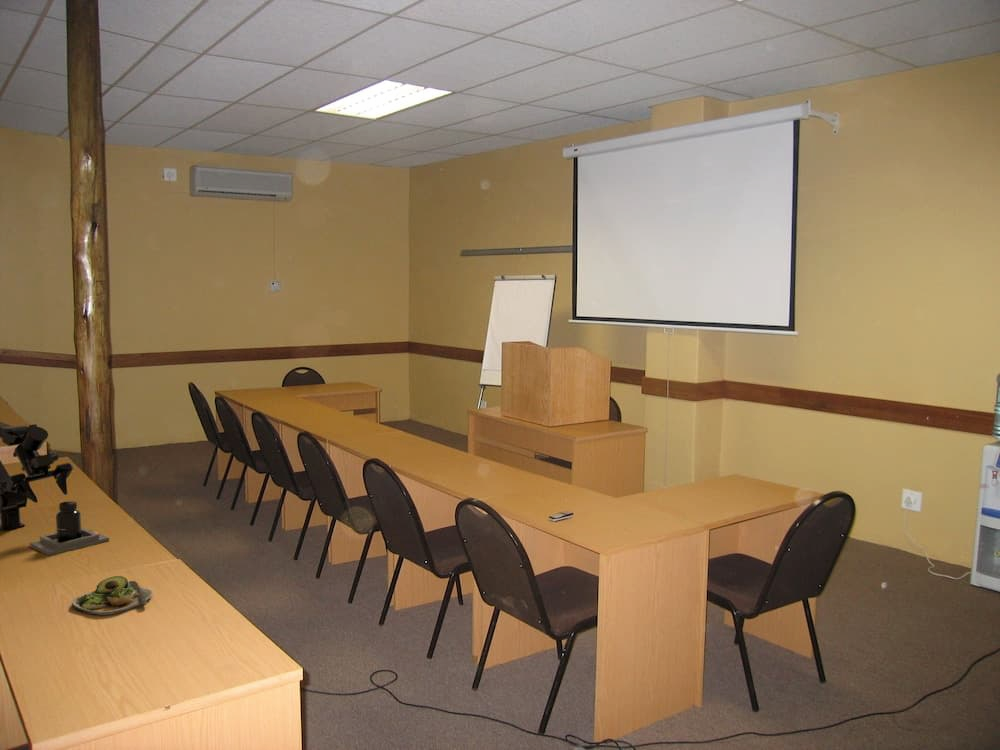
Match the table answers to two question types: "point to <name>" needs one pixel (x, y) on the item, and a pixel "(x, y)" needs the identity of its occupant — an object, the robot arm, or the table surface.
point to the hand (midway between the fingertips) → (51, 498)
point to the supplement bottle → (68, 522)
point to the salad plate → (113, 596)
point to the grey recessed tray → (67, 542)
